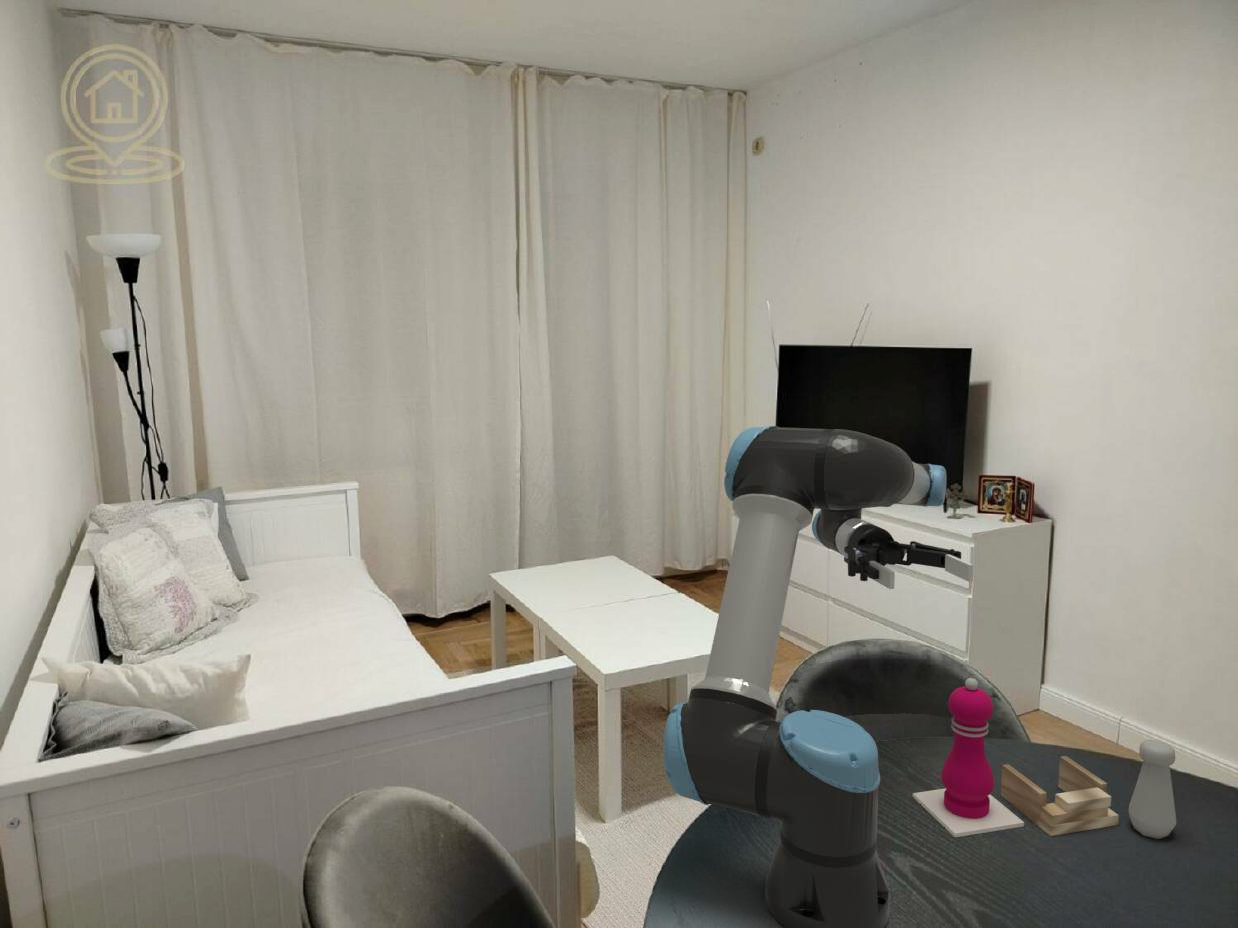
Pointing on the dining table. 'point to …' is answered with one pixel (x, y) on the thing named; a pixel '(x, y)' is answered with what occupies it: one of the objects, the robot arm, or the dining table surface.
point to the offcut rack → (1061, 799)
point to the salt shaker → (1154, 791)
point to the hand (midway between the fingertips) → (932, 576)
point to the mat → (964, 826)
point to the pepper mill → (968, 753)
